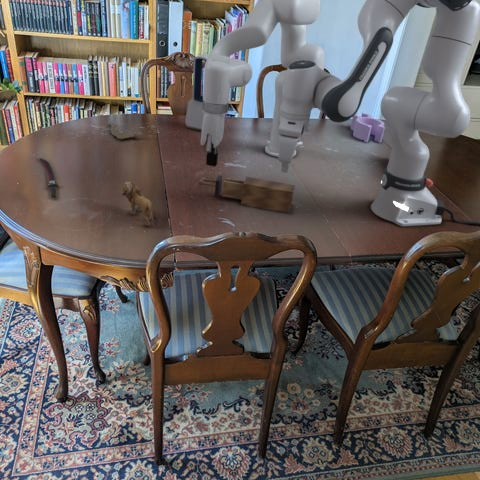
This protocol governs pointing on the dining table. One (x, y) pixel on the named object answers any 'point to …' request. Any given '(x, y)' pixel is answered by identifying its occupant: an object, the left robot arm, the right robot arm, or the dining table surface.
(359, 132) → the clip
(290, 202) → the cabinet
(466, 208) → the dining table surface
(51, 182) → the sword
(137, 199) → the lion figurine
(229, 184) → the wooden handle frame
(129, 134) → the jawbone
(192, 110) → the electronic device
